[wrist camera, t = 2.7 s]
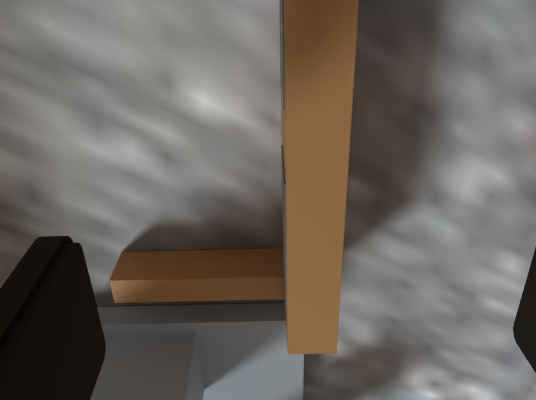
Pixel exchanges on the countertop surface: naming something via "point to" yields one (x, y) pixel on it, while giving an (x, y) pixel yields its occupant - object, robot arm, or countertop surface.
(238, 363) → the gray blocky stand
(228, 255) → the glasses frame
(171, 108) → the countertop surface
